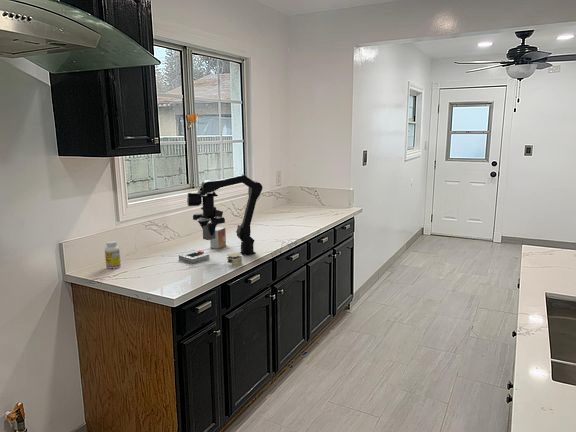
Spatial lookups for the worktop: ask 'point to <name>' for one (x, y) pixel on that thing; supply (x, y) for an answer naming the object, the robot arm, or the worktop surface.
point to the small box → (219, 238)
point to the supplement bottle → (112, 255)
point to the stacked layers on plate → (234, 259)
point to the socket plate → (194, 257)
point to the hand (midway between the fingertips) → (209, 234)
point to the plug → (207, 233)
